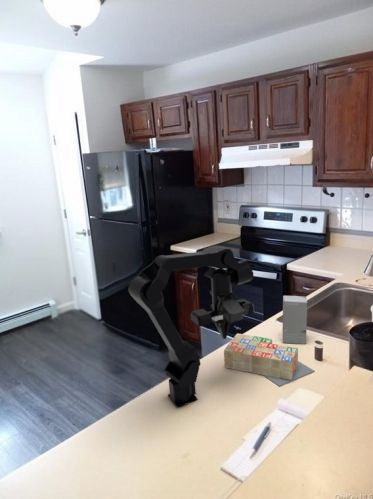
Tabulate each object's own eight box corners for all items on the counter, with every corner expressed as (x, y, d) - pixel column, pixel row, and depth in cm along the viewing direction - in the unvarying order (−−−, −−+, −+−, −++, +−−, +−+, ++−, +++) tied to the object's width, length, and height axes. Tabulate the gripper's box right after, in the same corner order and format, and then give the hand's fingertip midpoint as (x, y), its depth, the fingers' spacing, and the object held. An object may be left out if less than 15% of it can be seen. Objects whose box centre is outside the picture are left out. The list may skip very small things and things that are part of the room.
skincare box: (282, 343, 133) (282, 301, 129) (282, 334, 140) (281, 294, 136) (307, 344, 131) (307, 302, 127) (306, 335, 138) (306, 294, 134)
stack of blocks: (291, 381, 110) (300, 360, 120) (291, 362, 108) (300, 343, 119) (224, 367, 120) (237, 349, 131) (223, 349, 119) (237, 332, 129)
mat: (279, 386, 108) (279, 385, 108) (245, 363, 122) (245, 362, 122) (314, 371, 114) (314, 370, 114) (279, 350, 128) (279, 349, 128)
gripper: (206, 304, 98) (209, 358, 101) (264, 290, 105) (265, 341, 109) (188, 292, 108) (191, 342, 111) (242, 280, 115) (244, 327, 119)
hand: (224, 338), depth 112 cm, fingers closed
